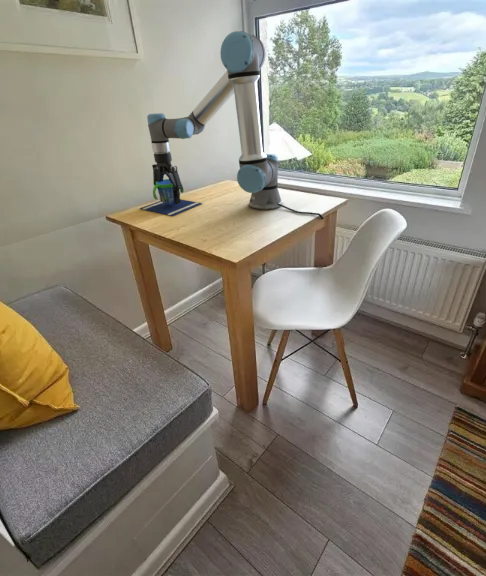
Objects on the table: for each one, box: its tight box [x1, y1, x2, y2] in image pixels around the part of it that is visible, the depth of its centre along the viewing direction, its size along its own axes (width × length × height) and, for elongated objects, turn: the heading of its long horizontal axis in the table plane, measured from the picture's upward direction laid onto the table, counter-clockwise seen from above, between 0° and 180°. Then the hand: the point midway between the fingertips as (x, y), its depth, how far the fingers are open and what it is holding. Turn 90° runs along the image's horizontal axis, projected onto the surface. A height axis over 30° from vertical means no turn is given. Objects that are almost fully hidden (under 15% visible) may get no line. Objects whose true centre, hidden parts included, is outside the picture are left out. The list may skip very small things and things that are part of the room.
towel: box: [139, 198, 203, 217], centre depth 158 cm, size 22×20×1 cm
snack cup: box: [152, 178, 185, 205], centre depth 154 cm, size 16×10×10 cm
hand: (170, 201), depth 157 cm, fingers closed on snack cup, 9 cm apart
